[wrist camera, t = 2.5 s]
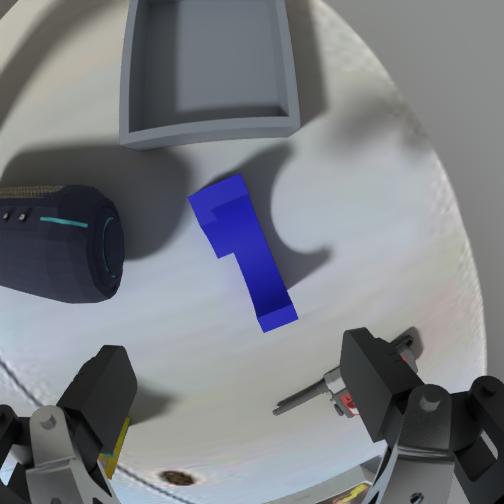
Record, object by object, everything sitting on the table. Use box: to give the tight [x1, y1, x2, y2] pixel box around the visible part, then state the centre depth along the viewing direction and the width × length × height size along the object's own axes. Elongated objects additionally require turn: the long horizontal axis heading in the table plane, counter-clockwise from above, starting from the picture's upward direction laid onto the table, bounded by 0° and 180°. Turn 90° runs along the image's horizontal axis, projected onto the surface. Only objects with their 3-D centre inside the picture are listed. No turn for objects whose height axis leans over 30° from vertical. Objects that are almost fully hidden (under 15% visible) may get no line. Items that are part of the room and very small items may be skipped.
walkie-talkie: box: [273, 335, 418, 418], centre depth 29 cm, size 9×4×20 cm
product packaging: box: [263, 464, 376, 504], centre depth 40 cm, size 22×28×5 cm
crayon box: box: [98, 417, 130, 480], centre depth 25 cm, size 7×3×12 cm, turn 65°
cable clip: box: [188, 173, 298, 333], centre depth 22 cm, size 12×4×6 cm, turn 22°
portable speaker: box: [0, 185, 124, 304], centre depth 19 cm, size 25×10×10 cm, turn 84°
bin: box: [119, 0, 301, 151], centre depth 18 cm, size 14×18×5 cm
